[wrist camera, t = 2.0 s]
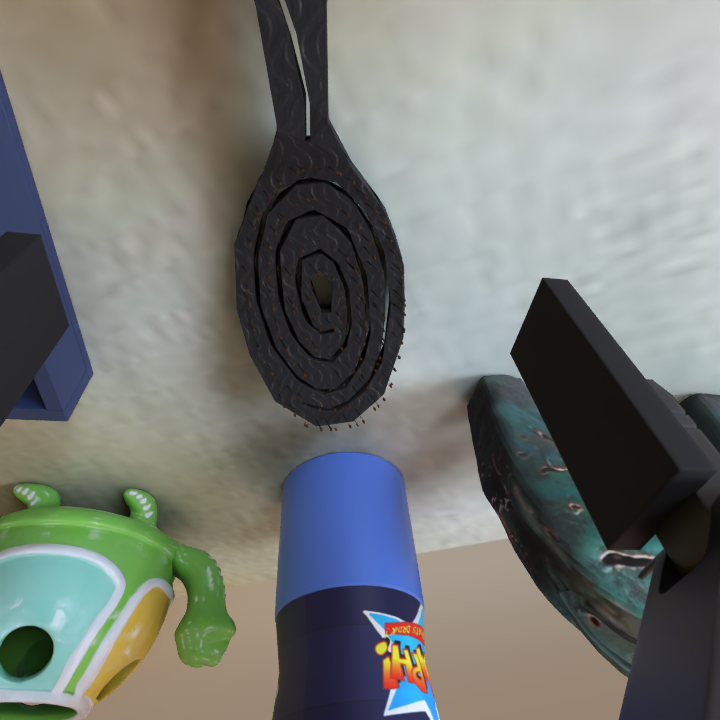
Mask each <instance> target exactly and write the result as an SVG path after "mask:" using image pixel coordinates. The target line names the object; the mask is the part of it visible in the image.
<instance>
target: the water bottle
mask: <svg viewBox="0 0 720 720" xmlns="http://www.w3.org/2000/svg"><path fill="white" fill-rule="evenodd" d="M423 612H424V603H423V597H422V590H421V584H420V577H419V571H418V564H417V558H416V552H415V545H414V539H413V533H412V527H411V521H410V515H409V509H408V503H407V497H406V490H405V484H404V479H403V477H402V475H401V473H400V472H399V471H398V469H397V468H396V467H395V466H393V465H392V464H391V463H389V462H388V461H386V460H384V459H381V458H379V457H376V456H372V455H369V454H363V453H356V452H341V453H333V454H327V455H323V456H319V457H316V458H314V459H311V460H309V461H306V462H305V463H303V464H301V465H300V466H298V467H297V468H295V469H294V470H293V471H292V472H291V473H290V474H289V476H288V477H287V478H286V480H285V483H284V486H283V494H282V509H281V525H280V540H279V555H278V572H277V590H276V607H275V622H276V628H277V644H278V659H279V679H278V686H277V692H276V699H275V706H274V712H273V719H272V720H440V719H439V715H438V711H437V707H436V703H435V699H434V695H433V691H432V687H431V683H430V679H429V675H428V671H427V667H426V663H425V648H424V619H423Z"/></svg>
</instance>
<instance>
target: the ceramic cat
mask: <svg viewBox="0 0 720 720" xmlns="http://www.w3.org/2000/svg"><path fill="white" fill-rule="evenodd" d="M680 405H681V407H682V408H683V409H684V410H685V415H689V416H690V418H691V419H692V420H693V421H694V423H695V424H696V425H697V426H696V428H697V429H700V430H701V431H702V432H703V434H704V435H705V436H706V437H707V438H708V440H709V441H710V442H711V443H712V445H713V446H714V447H715V448H716V449H717V451H718V452H719V453H720V396H719V395H711V394H695V395H693V396H691V397H689V398H687V399H685V400H684V401H683V402H682V403H681V404H680ZM467 410H468V417H469V423H470V427H471V434H472V441H473V446H474V450H475V455H476V459H477V466H478V472H479V477H480V481H481V485H482V490H483V492H484V494H485V496H486V498H487V499H488V501H489V502H490V504H491V505H492V507H493V508H494V510H495V512H496V513H497V515H498V516H499V518H500V520H501V522H502V524H503V526H504V528H505V531H506V533H507V536H508V538H509V540H510V542H511V544H512V546H513V548H514V550H515V552H516V553H517V555H518V557H519V559H520V560H521V562H522V563H523V565H524V567H525V568H526V570H527V571H528V573H529V574H530V576H531V578H532V579H533V581H534V582H535V584H536V586H537V587H538V588H539V590H540V591H541V592H542V593H543V594H544V596H545V597H546V598H547V600H548V601H549V602H550V603H551V604H552V605H553V606H554V607H555V608H556V609H557V610H558V611H559V612H560V613H561V614H562V615H563V616H564V617H565V618H566V619H567V620H568V621H569V622H570V623H572V624H573V625H574V626H575V627H576V628H577V629H579V630H580V631H581V632H582V633H583V634H584V636H585V637H586V638H587V639H588V640H589V642H590V643H591V644H592V645H593V646H594V647H595V649H596V650H597V651H598V652H599V653H600V654H601V655H602V656H603V657H604V658H605V659H607V660H608V661H609V662H610V663H611V664H612V665H613V666H614V667H615V668H617V669H618V671H620V672H621V673H622V674H624V675H625V676H627V677H628V678H629V673H630V669H631V664H632V660H633V656H634V651H635V647H636V643H637V638H638V634H639V629H640V625H641V621H642V616H643V612H644V608H645V603H646V599H647V595H648V590H649V586H650V581H651V577H652V573H650V574H649V575H648V576H647V577H646V578H644V579H643V580H641V579H639V578H638V575H639V573H640V572H641V570H642V569H643V568H644V567H645V566H646V565H647V564H649V563H650V562H651V561H652V560H653V559H654V558H655V557H656V556H657V555H658V554H659V553H660V552H661V551H662V550H663V549H664V548H663V546H662V544H661V543H660V541H659V539H658V538H657V536H656V534H655V535H654V536H653V537H652V538H651V539H650V540H649V541H648V542H647V543H646V545H645V546H644V547H643V548H642V549H641V550H607V549H606V547H605V545H604V542H603V540H602V538H601V536H600V534H599V532H598V530H597V528H596V526H595V524H594V522H593V520H592V518H591V516H590V514H589V512H588V510H587V508H586V506H585V504H584V502H583V500H582V498H581V496H580V494H579V492H578V490H577V488H576V486H575V484H574V482H573V480H572V478H571V476H570V474H569V472H568V469H567V467H566V465H565V463H564V461H563V459H562V457H561V455H560V453H559V451H558V449H557V447H556V445H555V443H554V441H553V439H552V437H551V435H550V433H549V431H548V429H547V427H546V425H545V423H544V421H543V419H542V417H541V415H540V413H539V411H538V409H537V407H536V405H535V403H534V401H533V399H532V397H531V394H530V392H529V390H528V388H527V387H526V386H525V384H524V383H523V381H522V380H521V379H517V378H514V377H512V376H506V375H499V376H486V377H483V378H482V379H481V381H480V382H479V384H478V386H477V388H476V390H475V393H474V396H473V398H472V399H471V401H470V402H469V404H468V405H467Z"/></svg>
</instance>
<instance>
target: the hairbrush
mask: <svg viewBox="0 0 720 720" xmlns="http://www.w3.org/2000/svg"><path fill="white" fill-rule="evenodd" d="M254 2H255V5H256V10H257V15H258V21H259V27H260V32H261V38H262V44H263V49H264V55H265V61H266V66H267V72H268V78H269V83H270V89H271V95H272V100H273V106H274V112H275V117H276V123H277V131H276V135H275V139H274V142H273V146H272V149H271V151H270V154H269V157H268V160H267V162H266V165H265V168H264V171H263V173H262V174H261V176H260V177H259V179H258V182H257V184H256V187H255V189H254V191H253V193H252V194H251V196H250V198H249V200H248V202H247V205H246V210H245V214H244V218H243V221H242V224H241V227H240V229H239V232H238V236H237V239H236V242H235V269H236V300H237V311H238V315H239V318H240V322H241V325H242V329H243V332H244V336H245V339H246V343H247V346H248V350H249V353H250V356H251V358H252V360H253V361H254V363H255V365H256V367H257V369H258V371H259V372H260V374H261V376H262V378H263V380H264V382H265V383H266V385H267V387H268V389H269V391H270V393H271V394H272V396H273V398H274V400H275V401H276V402H277V403H279V404H281V405H282V406H283V407H284V408H287V409H289V410H291V411H292V412H294V413H295V414H294V417H296V414H297V415H299V416H300V417H302V418H303V419H305V420H307V421H309V422H310V423H312V424H314V425H315V426H319V427H320V430H321V431H323V430H322V428H321V426H323V425H328V426H329V425H330V424H337V423H344V422H352V421H354V420H355V419H357V418H358V417H359V416H360V415H361V414H362V413H363V412H364V411H366V410H367V409H368V408H369V407H370V406H371V405H372V404H373V403H374V402H376V401H377V400H378V399H379V398H380V397H381V396H382V395H383V394H384V392H385V389H386V386H387V384H388V381H389V378H390V375H391V372H392V369H393V370H394V371H395V372H396V369H395V368H394V367H393V366H394V363H395V360H396V357H397V355H398V352H399V349H400V346H401V344H403V342H402V340H403V333H405V328H404V316H406V314H405V313H404V310H405V307H406V304H405V301H406V300H405V295H404V265H403V261H402V256H401V253H400V249H399V246H398V242H397V239H396V236H395V233H394V230H393V228H392V225H391V222H390V220H389V217H388V215H387V212H386V209H385V207H384V205H383V204H382V202H381V201H380V199H379V198H378V196H377V195H376V194H375V192H374V191H373V190H372V188H371V187H370V186H369V184H368V183H367V182H366V180H365V179H364V177H363V176H362V174H361V173H360V172H359V171H358V169H357V168H356V167H355V165H354V164H353V163H352V161H351V160H350V158H349V156H348V154H347V152H346V150H345V148H344V146H343V144H342V143H341V141H340V139H339V137H338V135H337V133H336V131H335V129H334V127H333V126H332V124H331V122H330V120H329V115H328V55H327V0H285V2H286V5H287V8H288V10H289V13H290V16H291V19H292V22H293V25H294V28H295V30H296V34H297V39H298V44H299V49H300V54H301V59H302V65H303V70H304V75H305V80H306V85H307V91H308V96H309V101H310V136H306V92H305V88H304V84H303V80H302V76H301V72H300V68H299V65H298V61H297V57H296V53H295V49H294V45H293V41H292V37H291V34H290V31H289V28H288V25H287V22H286V19H285V16H284V13H283V10H282V7H281V4H280V1H279V0H254ZM304 177H309V178H305V179H302V178H304ZM300 179H301V180H300ZM330 181H333V182H337V183H338V184H339V185H340V186H341V187H342V188H341V187H339V186H337V185H335V184H333V183H332V182H330ZM294 182H295V183H294ZM292 183H293V184H292ZM290 184H292V185H291V186H289V187H288V188H286V189H285V190H284V191H282V192H281V193H280V194H279V195H278V196H277V198H276V200H275V202H274V204H273V206H272V207H271V209H270V211H269V213H268V215H267V219H266V222H265V225H264V230H263V234H262V239H261V246H260V252H259V258H258V264H259V282H260V291H259V285H258V278H257V272H256V266H255V258H256V252H257V246H258V240H259V234H260V228H261V221H262V216H263V214H264V211H265V210H266V208H267V207H268V205H269V204H270V202H271V201H272V200H273V198H274V197H275V195H276V194H277V192H278V191H279V190H280V189H282V188H284V187H286V186H288V185H290ZM354 200H355V201H356V202H357V203H358V204H359V205H360V206H361V207H363V208H364V209H365V210H366V212H367V214H368V217H369V219H370V221H371V223H372V226H373V228H374V230H375V232H376V235H377V237H378V239H379V241H380V244H381V246H382V249H383V252H384V256H385V261H386V269H387V277H388V287H389V307H388V315H387V323H386V331H385V330H384V322H385V315H386V314H385V276H384V270H383V265H382V262H381V258H380V255H379V252H378V248H377V245H376V242H375V238H374V235H373V232H372V229H371V225H370V223H369V222H368V220H367V219H366V217H365V216H364V214H363V213H362V211H361V210H360V208H359V206H358V205H357V204H356V202H355V201H354ZM312 209H314V211H310V210H312ZM293 218H294V220H293V221H292V223H291V224H290V226H289V227H288V229H287V231H286V232H285V234H284V237H283V241H282V245H281V248H280V264H281V275H282V285H283V295H282V290H281V286H280V281H279V276H278V271H277V266H278V254H279V242H280V237H281V235H282V232H283V230H284V228H285V225H286V223H287V221H289V220H291V219H293ZM338 223H339V224H341V225H343V226H345V227H346V228H348V231H349V233H350V234H349V233H348V232H347V231H346V230H344V229H343V228H342V227H341V226H340V225H339V224H338ZM352 240H353V241H352ZM353 243H354V244H353ZM354 245H355V248H356V250H357V252H358V255H359V257H360V260H361V262H362V264H363V267H364V270H365V278H366V286H367V294H368V303H369V313H370V321H369V331H368V334H367V337H366V333H367V329H366V325H367V323H366V315H365V301H364V298H365V297H364V287H363V277H362V273H361V269H360V265H359V261H358V258H357V255H356V251H355V248H354ZM301 257H302V262H301V276H300V288H301V297H300V292H299V286H298V281H297V275H296V268H297V262H298V259H299V258H301ZM337 262H338V263H339V265H340V267H341V270H342V272H343V275H344V277H345V280H346V282H347V285H348V287H349V292H350V303H351V320H350V327H349V332H348V334H347V336H346V334H345V332H346V323H347V296H346V290H345V286H344V283H343V280H342V276H341V273H340V270H339V266H338V263H337ZM318 269H319V270H320V271H321V272H322V274H323V275H324V276H325V277H326V278H327V280H328V281H329V282H330V283H331V285H332V303H331V304H320V303H319V300H318V297H317V295H316V292H315V289H314V287H313V284H312V279H313V277H314V275H315V273H316V272H317V270H318ZM317 275H319V272H317ZM283 296H284V300H283ZM301 298H302V300H303V303H304V304H303V303H302V301H301ZM304 305H305V306H304ZM305 307H306V308H305ZM263 313H264V315H265V318H266V320H265V318H264V316H263ZM286 313H287V314H286ZM287 316H288V318H289V320H290V322H291V323H290V322H289V320H288V319H287ZM266 321H267V322H266ZM383 332H385V339H383V338H382V337H383ZM345 337H346V338H345ZM382 340H383V341H384V343H383V342H382ZM381 344H382V345H383V347H382V349H381ZM341 345H342V346H341ZM363 345H364V346H363ZM340 347H341V348H340ZM380 350H381V351H380ZM361 351H362V352H361ZM360 353H361V355H360ZM359 356H360V357H359ZM400 358H401V356H399V355H398V359H400ZM358 359H359V360H358ZM357 361H358V363H357ZM356 364H357V366H356ZM392 385H393V384H392V383H391V384H390V385H389V386H390V387H391V388H392ZM383 400H384V401H386V400H385V398H384V397H383ZM376 404H377V403H376ZM372 406H373V405H372ZM377 406H378V408H379V405H377ZM373 409H374V411H376V408H375V407H374V408H373ZM361 418H362V417H361ZM305 420H304V421H305ZM355 422H356V421H355ZM362 422H363V423H365V421H364V420H363V421H362ZM305 423H306V422H305ZM348 424H349V423H348ZM356 425H357V426H359V425H358V423H356ZM304 426H305V427H308V424H307V425H306V424H304ZM329 428H330V426H329ZM349 428H352V427H351V425H349ZM335 430H336V431H337V429H336V428H335ZM330 431H332V428H330Z"/></svg>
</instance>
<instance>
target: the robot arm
mask: <svg viewBox="0 0 720 720" xmlns="http://www.w3.org/2000/svg"><path fill="white" fill-rule="evenodd" d="M68 327H69V323H68V320H67V317H66V313H65V310H64V307H63V304H62V301H61V297H60V294H59V291H58V288H57V285H56V281H55V278H54V275H53V272H52V269H51V266H50V262H49V259H48V256H47V253H46V250H45V246H44V243H43V240H42V237H41V234H30V233H19V232H5V233H4V234H3V235H2V236H1V237H0V427H1V425H2V424H3V422H4V421H5V419H6V418H7V416H8V415H9V413H10V412H11V411H12V409H13V408H14V406H15V405H16V403H17V402H18V400H19V399H20V397H21V396H22V394H23V393H24V391H25V390H26V389H27V387H28V386H29V384H30V383H31V381H32V380H33V378H34V377H35V375H36V374H37V372H38V371H39V369H40V368H41V367H42V365H43V364H44V362H45V361H46V359H47V358H48V356H49V355H50V353H51V352H52V350H53V349H54V347H55V346H56V345H57V343H58V342H59V340H60V339H61V337H62V336H63V334H64V333H65V331H66V330H67V328H68ZM510 354H511V356H512V358H513V360H514V362H515V364H516V366H517V368H518V370H519V372H520V374H521V376H522V378H523V380H524V382H525V384H526V386H527V388H528V390H529V392H530V394H531V397H532V399H533V401H534V403H535V405H536V407H537V409H538V411H539V413H540V415H541V417H542V419H543V421H544V423H545V425H546V427H547V429H548V431H549V433H550V435H551V437H552V439H553V441H554V443H555V445H556V447H557V449H558V451H559V453H560V455H561V457H562V459H563V461H564V463H565V465H566V467H567V469H568V472H569V474H570V476H571V478H572V480H573V482H574V484H575V486H576V488H577V490H578V492H579V494H580V496H581V498H582V500H583V502H584V504H585V506H586V508H587V510H588V512H589V514H590V516H591V518H592V520H593V522H594V524H595V526H596V528H597V530H598V532H599V534H600V536H601V538H602V540H603V542H604V545H605V547H606V549H607V550H641V549H642V548H643V547H644V546H645V545H646V543H647V542H648V541H649V540H650V539H651V538H652V537H653V536H654V535H655V534H656V536H657V538H658V539H659V541H660V543H661V544H662V546H663V548H664V549H663V550H662V551H661V552H660V553H659V554H658V555H657V556H656V557H655V558H654V559H653V560H652V561H651V562H650V563H649V564H647V565H646V566H645V567H644V568H643V569H642V570H641V572H640V573H639V575H638V578H639V579H641V580H643V579H644V578H646V577H647V576H648V575H649V574H650V573H652V577H651V581H650V586H649V590H648V595H647V599H646V603H645V608H644V612H643V616H642V621H641V625H640V629H639V634H638V638H637V643H636V647H635V651H634V656H633V660H632V664H631V669H630V673H629V678H628V682H627V686H626V691H625V695H624V699H623V704H622V708H621V713H620V717H619V720H720V453H719V452H718V451H717V449H716V448H715V447H714V446H713V445H712V443H711V442H710V441H709V440H708V438H707V437H706V436H705V435H704V434H703V432H702V431H701V430H700V429H697V428H696V426H697V425H696V424H695V423H694V421H693V420H692V419H691V418H690V416H689V415H685V410H684V409H683V408H682V407H681V405H680V404H679V403H678V402H677V401H676V399H675V398H674V397H673V396H672V395H671V394H670V393H669V392H667V391H666V390H665V389H664V388H662V387H661V386H660V385H658V384H657V383H656V382H654V381H653V380H649V379H645V378H644V376H643V375H642V374H641V373H640V371H639V370H638V369H637V367H636V366H635V365H634V364H633V362H632V361H631V360H630V359H629V357H628V356H627V355H626V353H625V352H624V351H623V350H622V348H621V347H620V346H619V345H618V343H617V342H616V341H615V340H614V338H613V337H612V336H611V334H610V333H609V332H608V331H607V329H606V328H605V327H604V326H603V324H602V323H601V322H600V320H599V319H598V318H597V317H596V315H595V314H594V313H593V312H592V310H591V309H590V308H589V306H588V305H587V304H586V303H585V301H584V300H583V299H582V298H581V296H580V295H579V294H578V293H577V291H576V290H575V289H574V287H573V286H572V285H571V284H570V282H569V281H568V280H563V279H551V278H542V280H541V282H540V285H539V287H538V289H537V292H536V294H535V296H534V299H533V301H532V303H531V306H530V308H529V310H528V313H527V315H526V317H525V320H524V322H523V324H522V327H521V329H520V331H519V334H518V336H517V338H516V341H515V343H514V345H513V348H512V350H511V352H510Z"/></svg>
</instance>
